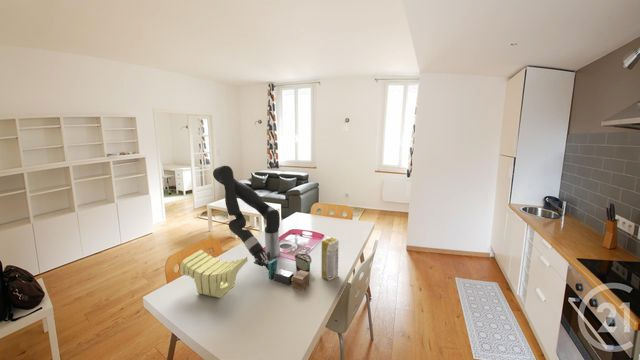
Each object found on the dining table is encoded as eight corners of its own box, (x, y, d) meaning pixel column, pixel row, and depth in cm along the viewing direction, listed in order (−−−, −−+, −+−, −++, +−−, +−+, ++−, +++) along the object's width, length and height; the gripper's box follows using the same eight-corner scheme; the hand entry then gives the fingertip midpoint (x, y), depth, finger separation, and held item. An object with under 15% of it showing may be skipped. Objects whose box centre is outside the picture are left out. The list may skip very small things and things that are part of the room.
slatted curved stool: (182, 293, 144) (179, 262, 140) (203, 277, 159) (201, 249, 155) (231, 303, 135) (229, 270, 132) (248, 286, 150) (247, 256, 147)
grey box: (274, 274, 162) (274, 258, 160) (303, 282, 153) (303, 266, 151) (268, 279, 156) (268, 263, 155) (298, 288, 148) (297, 271, 146)
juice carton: (330, 271, 166) (330, 234, 162) (340, 276, 161) (340, 237, 156) (319, 277, 160) (319, 238, 155) (329, 282, 154) (329, 242, 150)
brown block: (300, 281, 155) (300, 269, 154) (309, 283, 153) (309, 272, 151) (292, 288, 148) (292, 276, 147) (302, 291, 146) (302, 279, 144)
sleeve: (279, 276, 160) (279, 268, 159) (293, 280, 156) (293, 272, 155) (274, 281, 155) (273, 272, 154) (288, 285, 151) (288, 277, 150)
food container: (315, 272, 164) (315, 257, 163) (308, 276, 160) (308, 261, 158) (302, 265, 173) (301, 251, 171) (294, 269, 168) (294, 254, 166)
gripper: (249, 246, 154) (267, 271, 151) (263, 238, 166) (281, 261, 163) (242, 253, 157) (260, 278, 154) (257, 245, 169) (274, 267, 166)
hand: (270, 269), depth 158 cm, fingers closed
